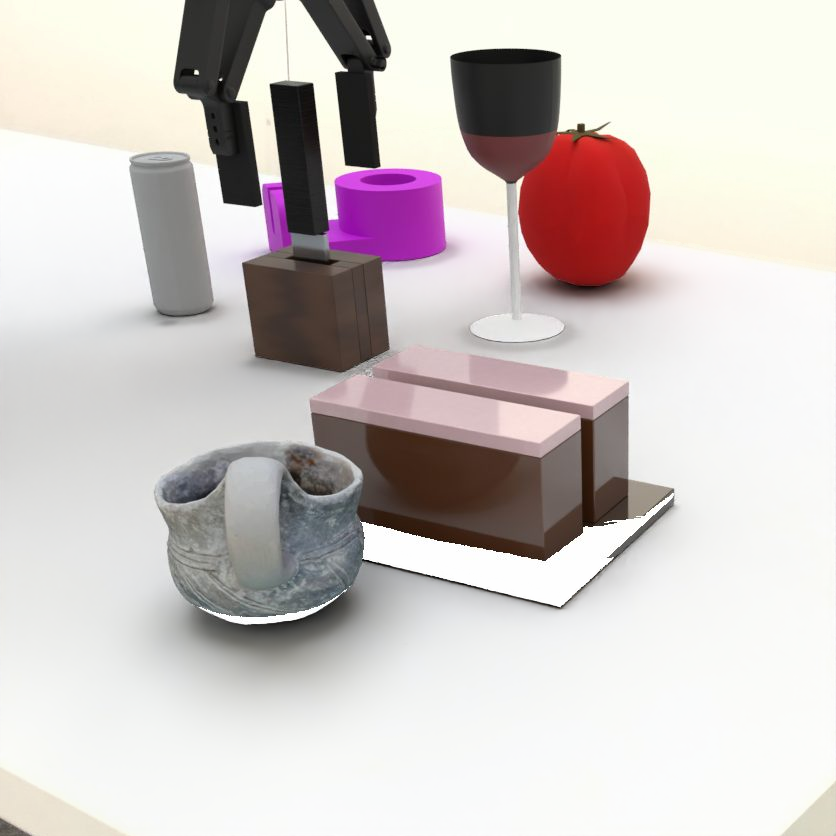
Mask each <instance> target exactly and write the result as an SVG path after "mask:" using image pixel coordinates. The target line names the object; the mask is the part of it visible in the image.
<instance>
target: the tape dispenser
mask: <svg viewBox="0 0 836 836" xmlns="http://www.w3.org/2000/svg"><path fill="white" fill-rule="evenodd" d="M442 179H443V178H442V176H441V175H440V174H438V173H436V172H432V171H428V170H425V169H424V170H423V169H415V168H393V167H392V168H391V167H390V168H376V169H372V168H371V169H363V170H358V171H352V172H347V173H345V174H342V175H339V176H337V177H336V178H335V179H334V182H333V183H334V191H335V200H336V201H335V202H336V211H337V218H336V219H328V221H329V231H327V232H324V233H327V234H328V242H329V249H332V250H339V251H346V252H353V253H360V254H367V255H374V256H381V259H382V262H397V261H399V262H400V261H409V260H410V261H411V260H417V259H422V258H427V257H432V256H434V255H437V254H440V253H442V252H443V251H444V250H445V249H446V248H447V240H446V225H445V224H446V222H445V210H444V209H445V208H444V194H443V180H442ZM261 186H262V187H261V197H262V204H263V205H262V206H263V212H264V219H265V226H266V232H267V241H268V248H269V250H270V251H271V252H274V251H276V250H279V249H282V248H284V247H287V246H290V245H292V240H291V233H290V232H288V229H287V221H286V213H285V205H284V197H283V189H282V181H280V182H268V183H262V185H261Z"/></svg>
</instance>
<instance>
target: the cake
mask: <svg viewBox="0 0 836 836" xmlns="http://www.w3.org/2000/svg"><path fill="white" fill-rule="evenodd" d="M371 367H372V368H371V370H372V376H368V375H363V374H357V373H356V374H355V375H353V376H351V377H349V378H346V379H344V380H343V381H341V382H339V383H337V384H335V385H333V386H331V387H329V388H327V389H325V390H323V391H321V392H319V393H318V394H315V395H313V396H312V397H310V398H309V399H308V400H309V408H310V417H311V425H312V432H313V442H314V445H315V446H318V447H321V448H324V449H327V450H330V451H334V452H337V453H339V454H341V455H343V456H344V457H346V458H347V459H349V460H350V461H351V462H352V463H354V464H355V465H356V466H357V467H358V468H359V469H360V470H361V471H362V474H363V485H362V490H361V496H360V500H359V504H358V508H357V515H358V516H359V518H360V521H361V522H366V523H369V524H374V525H377V526H383V527H386V528H391V529H394V530H397V531H401V532H404V533H409V534H412V535H416V536H417V535H418V536H421V537H425V538H430V539H434V540H437V541H443V542H449V543H455V544H461V545H464V546H465V545H467V546H470V547H477V548H483V549H486V550H493V551H496V552H503V553H510V554H513V555H517V556H521V557H528V558H531V559H538V560H542V561H546V560H547V559H548V558H550V557H551V556H552V555H554V554H555V553H556V552H559V551H560V550H561V549H562V548H563V547H564V546H566V545H568V544H569V543H570V542H571V541H573V540H574V539H575V538H577V537H578V536H580V535H581V534H582V533H583V527H585V526H588V527H593V526H604V525H608V524H614V523H617V522H609V523H604V522H607V521H612V520H626V519H634V518H641V517H636V516H645V515H646V513H647V512H649V511H650V510H651V509H652V508H654V507H655V506H656V505H658V504H659V503H660V502H662V501H663V500H665V498H667V497H669V496H670V495H671V494H672V493H674V494H675V488H673V487H670V486H664V485H659V484H655V483H654V484H653V483H648V482H644V481H639V480H633V479H629V452H630V451H629V435H630V434H629V430H630V429H629V428H630V426H629V424H630V423H629V422H630V421H629V417H630V416H629V415H630V411H629V409H630V407H629V406H630V404H629V401H630V400H629V399H630V396H629V395H630V381H629V380H624V379H618V378H612V377H606V376H600V375H594V374H589V373H583V372H577V371H571V370H565V369H559V368H553V367H548V366H542V365H535V364H530V363H523V362H518V361H512V360H507V359H502V358H501V359H500V358H495V357H488V356H484V355H483V356H482V355H477V354H471V353H467V352H465V353H464V352H459V351H453V350H447V349H442V348H436V347H429V346H425V345H424V346H423V345H418V344H414V345H411V346H410V347H408V348H405V349H404V350H402V351H400V352H397V353H396V354H394V355H392V356H390V357H388V358H386V359H384V360H382V361H380V362H378V363H376V364H374V365H372V366H371ZM674 504H675V496H674V497H673V498H672V499H671V500H670V501H669V502H668V503H667V504H666V505H664V506H663V507H662V508H661V509H660V510H659V511H658V512H657V513H656V514H655V515H653V516H652V517H651V518H650V519H649V520H648V521H647V522H646V523H645V524H644V525H643V526H641V527H640V528H639V529H638V530H637V531H636V532H635V533H634V534H633V535H632V536H630V537H629V538H628V539H627V540H626V541H625V542H624V543H623V544H622V545H621V546H620V547H618V548H617V549H616V550H615V551H614V552H613V553H612V554H611V555H610V556H609V557H607V558H612V557H616V556H617V555H618V556H619V555H620V554H621V553H622V552H623V551H625V550H626V549H627V548H628V547H629V546H630V545H631V544H632V543H633V542H634V541H635V540H637V539H638V538H639V537H640V536H641V535H642V534H643V533H644V532H645V531H646V530H647V529H648V528H649V527H650V526H652V525H653V523H655V522H656V521H657V520H658V519H659V518H661V516H662V515H664V514H665V512H666V511H668V510H669V509H670V508H671V507H672V506H673V505H674ZM618 556H617V557H618ZM617 557H616V558H617Z"/></svg>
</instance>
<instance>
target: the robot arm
mask: <svg viewBox="0 0 836 836" xmlns="http://www.w3.org/2000/svg"><path fill="white" fill-rule="evenodd" d="M277 1H278V2H281V1H283V0H184V5H183V10H182V11H183V13H182V18H181V24H180V33H179V39H178V45H177V52H176V60H175V65H174V74H173V79H172V80H173V81H172V82H173V83H172V84H173V88H174V90H175V92H176V93H178V94H182V95H186V96H187V97H188V99H189V100H194V101H200V102H201V105H202V107H203V112H204V114H203V115H204V119H205V126H206V130H207V131H206V132H207V137H208V144H209V148H210V150H211V152H212V155H215V160H216V167H217V173H218V178H219V184H220V191H221V197H222V203H223V204H225V205H233V206H243V207H250V208H258V207H260V206H264V205H263V196H262V189H261V184H260V176H259V169H258V164H257V163H258V162H257V156H256V149H255V142H254V135H253V134H254V133H253V128H252V122H251V114H250V108H249V107H250V106H249V101H247V100H239V99H238V100H237V98H238V96H239V92H240V89H241V86H242V84H243V81H244V77H245V75H246V71H247V69H248V66H249V63H250V60H251V58H252V54H253V51H254V48H255V45H256V42H257V39H258V37H259V34H260V30H261V28H262V25H263V22H264V19H265V16H266V14H267V12H268V11H270V10H271V9H273V8H274V7H275V5H276V3H277ZM298 1H299V2H300V3H301V4H302V6H303V8H304V9H305V11H306V12H307V14H308V16H310V18H311V20H312V21H313V23H314V25H315V26H316V27H317V29H318V31H319V32H320V33H321V35H322V37H323V39H324V40H325V42H326V43H327V45H328V46H329V48H330V49H331V51H332V52H333V54H334V56H335V57H336V59H337V60H338V62H339V63H340V65H341V66H342V67H343V69H345V70H347V71H344V70H340V71H335V72H334V80H335V88H336V96H337V106H338V114H339V123H340V133H341V143H342V151H343V158H344V166H346V167H354V168H364V169H371V170H372V169H380V168H382V167H381V166H382V165H381V155H380V145H379V135H378V125H377V111H378V106H377V95H376V85H375V74H374V72H378V73H379V72H385V71H386V69H387V66H388V65H387V64H388V61H387V59H389V58H390V56H391V54H392V45H391V43H390V40H389V37H388V35H387V31H386V29H385V26H384V24H383V21H382V19H381V15H380V13H379V10H378V8H377V5H376V1H375V0H298ZM367 36H368V37H370V38H371V39H368V38H367ZM196 71H197V72H198V74H197V73H195V72H196Z"/></svg>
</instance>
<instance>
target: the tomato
mask: <svg viewBox="0 0 836 836" xmlns="http://www.w3.org/2000/svg"><path fill="white" fill-rule="evenodd" d="M610 124H611V121H608V122H606V123H603V124H602V125H601V126H599V127H597V128H592V129H587V130H586V123H583V122H582V123H577V124H576V128H575V129H574V128H570V129H567V130H565V131H564V130H563V131H557V134H556V137H555V141H554V144H553V146H552V149H551V151H550V153H549V154H548V156H547V157H546V158H545V159H544V160H543V162H542V163H540V164H539V165H538V166H537V167H536V168H535V169H533V170H532V171H530V172H529V173H527V174H526V175H524V176H523V177H522V178H523V179H522V181H521V185H520V187H519V188H520V189H519V197H518V207H517V214H518V222H519V226H520V233H521V236H522V238H523V240H524V243H525V246H526V248H527V250H528V251H529V252H530V254H531V255H532V257H533V259H534V260H535V261H536V263H537V264H538V265H539V266H540V267H541V268H542V269H543V270H544V271H545V272H547V274H549V275H550V276H552V277H553V278H554V279H555V280H557V281H558V280H559V281H560V282H561V281H562V282H564V283H568V284H571V285H574V286H582V287H600V286H604V285H607V284H609V283H613V282H615V281H618V280H619V279H622V278H623V277H625V275H626V274H627V272H628V270H629V269H630V268H631V266H633V264H634V262H635V260H636V259H637V257H638V256H639V254H640V252H641V251H642V248H643V245H644V241H645V238H646V234H647V231H648V228H649V225H650V215H651V214H650V211H651V187H650V182H649V178H648V173H647V170H646V168H645V167H644V165H643V163H642V161H641V159H640V157H639V155H638V153H637V151H636V149H635V148H634V147H632V146H631V145H630V144H628V143H627V142H626V141H625V140H623V139H621V138H619V137H616V136H614V135H611V134H600V133H598V131H599V132H600V131H601V130H602V129H604V128H605V127H606V126H608V125H610Z"/></svg>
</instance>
